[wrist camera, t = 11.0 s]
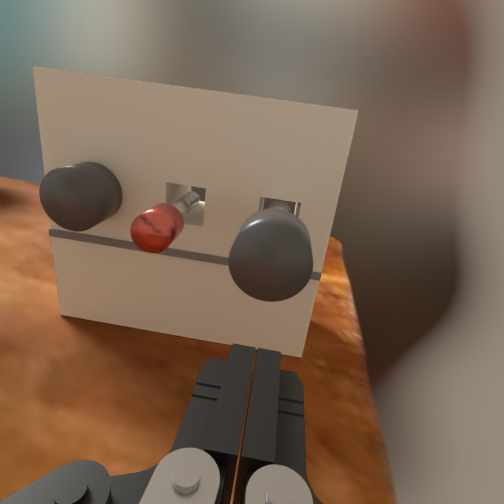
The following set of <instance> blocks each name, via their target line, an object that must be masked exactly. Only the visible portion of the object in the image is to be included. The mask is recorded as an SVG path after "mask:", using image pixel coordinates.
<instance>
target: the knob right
mask: <svg viewBox="0 0 504 504" xmlns="http://www.w3.org/2000/svg"><path fill="white" fill-rule="evenodd" d="M228 265H229V271H230V274H231V276H232V279H233V280H234V282H235V283H236V285H237V286H238V287H239V288H240V289H241V290H242V291H243V292H244V293H246V294H247V295H249V296H251V297H253V298H255V299H258V300H261V301H267V302H277V301H283V300H286V299H289V298H291V297H293V296H295V295H297V294H298V293H299V292H300V291H302V290H303V289H304V287H305V286H306V285H307V283H308V282H309V280H310V278H311V275H312V272H313V256H312V248H311V240H310V235H309V232H308V230H307V227H306V226H305V224H304V223H303V222H302V221H301V220H300V219H299V218H298V217H297V216H296V215H294V214H292V213H291V210H290V207H289V206H288V205H287V204H286V203H285V202H282V201H275V202H272V203H271V204H269V205H268V207H267V209H264V210H261V211H258V212H256V213H254V214H253V215H251V216H250V217H249V218H247V219H246V221H245V222H244V223H243V224H242V226H241V228H240V230H239V232H238V234H237V236H236V239H235V241H234V243H233V245H232V247H231V250H230V253H229V258H228Z"/></svg>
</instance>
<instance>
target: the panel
mask: <svg viewBox="0 0 504 504" xmlns="http://www.w3.org/2000/svg"><path fill="white" fill-rule="evenodd" d="M33 72H34V82H35V91H36V99H37V109H38V118H39V128H40V137H41V146H42V155H43V164H44V174H45V175H46V174H47V173H48V172H50V171H51V170H54V169H56V168H61V167H65V166H69V165H74V164H78V163H82V162H96V163H99V164H101V165H103V166H105V167H106V168H108V169H109V170H110V171H111V172H112V173H113V174H114V175H115V176H116V178H117V179H118V181H119V183H120V186H121V189H122V203H121V206H120V208H119V210H118V211H117V212H116V213H115V214H114V215H113V216H111V217H110V218H108V219H106V220H104V221H103V222H101V223H99V224H97V225H96V226H94V227H92V228H90V229H88V230H85V231H80V232H76V231H70V230H67V229H64V228H62V227H60V226H59V225H57V224H56V223H55V222H54V221H53V220H51V218H50V217H49V219H50V229H49V235H50V236H51V238H52V247H53V256H54V265H55V274H56V284H57V293H58V302H59V311H60V315H64V316H70V317H76V318H81V319H87V320H92V321H98V322H104V323H109V324H115V325H120V326H126V327H132V328H137V329H143V330H148V331H154V332H160V333H165V334H171V335H176V336H182V337H188V338H193V339H199V340H204V341H210V342H216V343H221V344H227V345H232V344H233V343H234V344H240V345H245V346H251V347H256V348H255V350H257V349H258V348H262V349H268V350H274V351H279V352H281V354H283V355H288V356H294V357H300V358H302V354H303V349H304V345H305V341H306V336H307V332H308V328H309V323H310V319H311V315H312V310H313V306H314V302H315V297H316V293H317V289H318V284H319V281H320V277H321V271H322V267H323V262H324V258H325V254H326V249H327V245H328V241H329V236H330V232H331V228H332V223H333V219H334V215H335V210H336V206H337V201H338V197H339V193H340V188H341V183H342V180H343V175H344V171H345V166H346V162H347V157H348V153H349V149H350V145H351V140H352V136H353V132H354V127H355V123H356V119H357V114H358V110H351V109H344V108H336V107H329V106H322V105H315V104H307V103H300V102H293V101H285V100H278V99H271V98H263V97H255V96H249V95H241V94H234V93H226V92H219V91H212V90H204V89H197V88H189V87H182V86H175V85H168V84H160V83H153V82H146V81H137V80H131V79H124V78H116V77H109V76H101V75H94V74H87V73H80V72H72V71H65V70H57V69H50V68H42V67H35V66H33ZM191 186H195V187H201V188H206V196H205V202H202V201H199V203H198V204H197V205H196V206H195V207H194V208H193V209H192V210H191V211H190V212H189V213H188V214H187V215H186V216H185V217H184V218H183V219H184V227H183V230H182V232H181V233H180V235H179V236H178V237H177V238H176V239H175V240H174V241H173V242H172V243H171V244H170V245H169V246H168V247H167V248H166V249H165V250H164V251H162V252H160V253H147V252H145V251H143V250H141V249H140V248H138V247H137V246H136V245H135V243H134V242H133V240H132V238H131V234H130V227H131V224H132V222H133V220H134V219H135V218H136V217H137V216H139V215H140V214H142V213H144V212H145V211H147V210H148V209H150V208H151V207H153V206H154V205H156V204H158V203H168V204H171V205H172V204H173V203H175V202H176V201H177V200H179V199H180V198H181V197H183V196H184V195H185V194H187V193H188V192H190V191H191ZM264 197H267V198H273V199H280V200H287V201H293V202H296V208H295V213H294V215H296V216H297V217H298V218H299V219H300V220H301V221H302V222H303V223H304V224H305V226H306V227H307V230H308V232H309V235H310V240H311V248H312V256H313V272H312V275H311V278H310V280H309V282H308V283H307V285H306V286H305V287H304V289H303V290H302V291H300V292H299V293H298V294H297V295H295V296H293V297H291V298H289V299H286V300H283V301H277V302H267V301H261V300H258V299H255V298H253V297H251V296H249V295H247V294H246V293H244V292H243V291H242V290H241V289H240V288H239V287H238V286H237V285H236V283H235V282H234V280H233V279H232V276H231V274H230V271H229V265H228V258H229V253H230V250H231V247H232V245H233V243H234V241H235V239H236V236H237V234H238V232H239V230H240V228H241V226H242V224H243V223H244V222H245V221H246V219H247V218H249V217H250V216H251V215H253V214H254V213H256V212H258V211H261V210H263V204H264Z"/></svg>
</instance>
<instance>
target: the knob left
mask: <svg viewBox="0 0 504 504" xmlns="http://www.w3.org/2000/svg"><path fill="white" fill-rule="evenodd" d="M39 193H40V200H41V204H42V206H43V208H44V210H45V212H46V213H47V215H48V216H49V217H50V218H51V220H53V221H54V222H55V223H56V224H57V225H59V226H60V227H62V228H64V229H67V230H70V231H76V232H80V231H85V230H88V229H90V228H92V227H94V226H96V225H97V224H99V223H101V222H103V221H104V220H106V219H108V218H110V217H111V216H113V215H114V214H115V213H116V212H117V211H118V210H119V208H120V206H121V203H122V189H121V186H120V183H119V181H118V179H117V178H116V176H115V175H114V174H113V173H112V172H111V171H110V170H109V169H108V168H106V167H105V166H103V165H101V164H99V163H96V162H82V163H78V164H74V165H69V166H65V167H61V168H56V169H54V170H51V171H50V172H48V173H47V174H46V175H45V177H44V178H43V180H42V182H41V184H40V191H39Z"/></svg>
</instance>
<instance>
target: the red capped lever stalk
mask: <svg viewBox="0 0 504 504" xmlns="http://www.w3.org/2000/svg"><path fill="white" fill-rule="evenodd" d="M199 201H200V198H199V196H198V194H197V193H195V192H193V191H190V192H188V193H187V194H185V195H184V196H183V197H181V198H180V199H179V200H177V201H176V202H175V203H173V204H172V205H171V204H168V203H158V204H156V205H154V206H153V207H151V208H150V209H148V210H147V211H145V212H144V213H142V214H140V215H139V216H137V217H136V218H135V219H134V220H133V222H132V224H131V227H130V234H131V238H132V240H133V242H134V243H135V245H136V246H137V247H138V248H140V249H141V250H143V251H145V252H147V253H160V252H162V251H164V250H165V249H166V248H167V247H168V246H169V245H170V244H171V243H172V242H173V241H174V240H175V239H176V238H177V237H178V236H179V235H180V233H181V232H182V230H183V227H184V219H183V218H184V217H185V216H186V215H187V214H188V213H189V212H190V211H191V210H192V209H193V208H194V207H195V206H196V205H197V204H198V203H199Z"/></svg>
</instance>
